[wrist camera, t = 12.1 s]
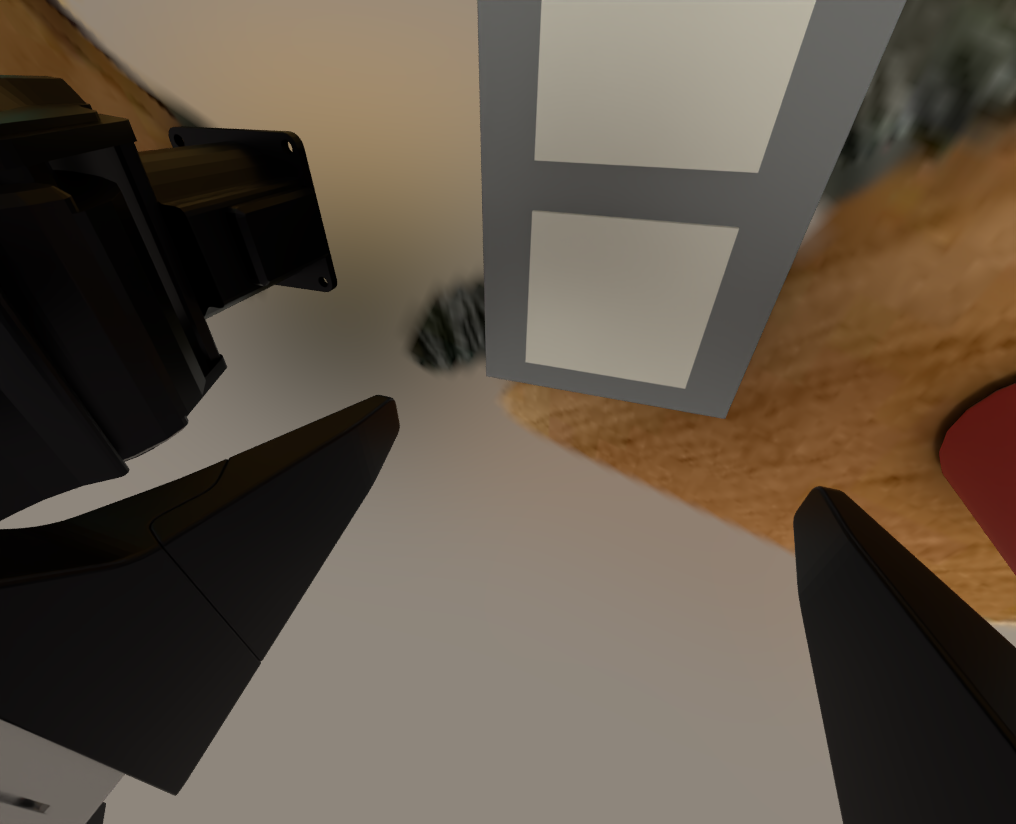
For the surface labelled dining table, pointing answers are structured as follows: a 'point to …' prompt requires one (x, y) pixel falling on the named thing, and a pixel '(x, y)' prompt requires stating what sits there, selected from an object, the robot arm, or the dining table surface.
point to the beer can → (986, 466)
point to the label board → (656, 181)
